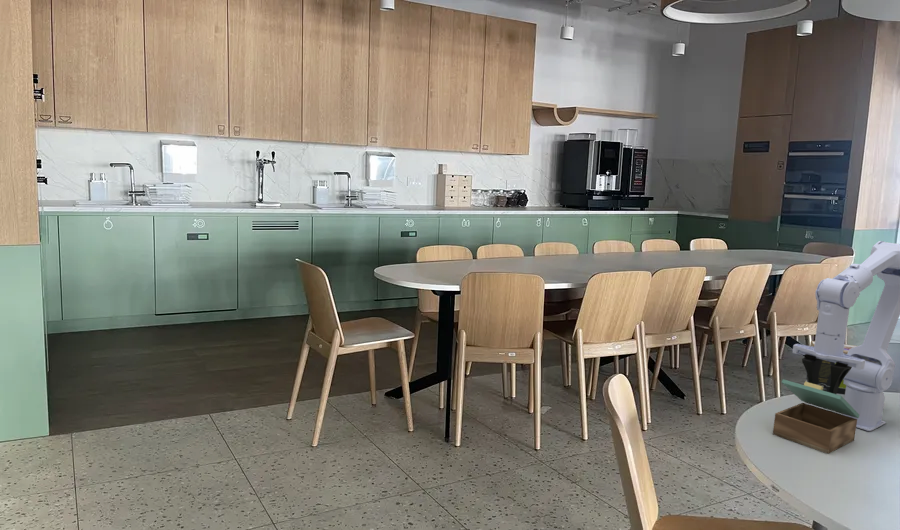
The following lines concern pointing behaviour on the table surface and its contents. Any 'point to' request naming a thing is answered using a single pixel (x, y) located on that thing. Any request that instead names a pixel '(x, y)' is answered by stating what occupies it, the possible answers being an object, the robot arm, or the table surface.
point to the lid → (820, 398)
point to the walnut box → (815, 427)
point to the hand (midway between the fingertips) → (822, 391)
